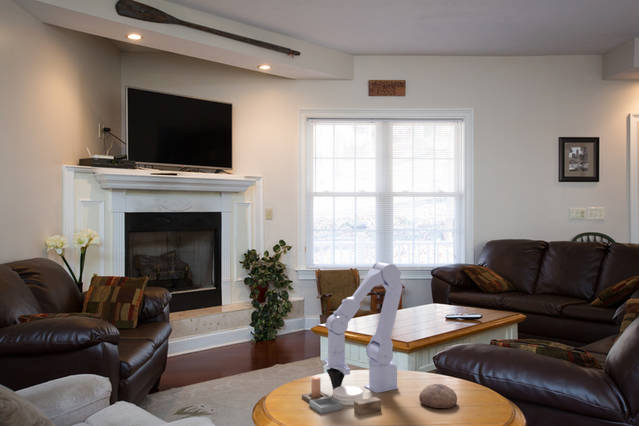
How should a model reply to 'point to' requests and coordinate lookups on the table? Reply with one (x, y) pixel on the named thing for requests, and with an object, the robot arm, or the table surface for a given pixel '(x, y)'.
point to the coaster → (347, 394)
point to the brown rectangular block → (367, 406)
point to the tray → (325, 405)
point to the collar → (308, 398)
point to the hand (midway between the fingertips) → (336, 390)
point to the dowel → (315, 387)
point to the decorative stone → (438, 396)
